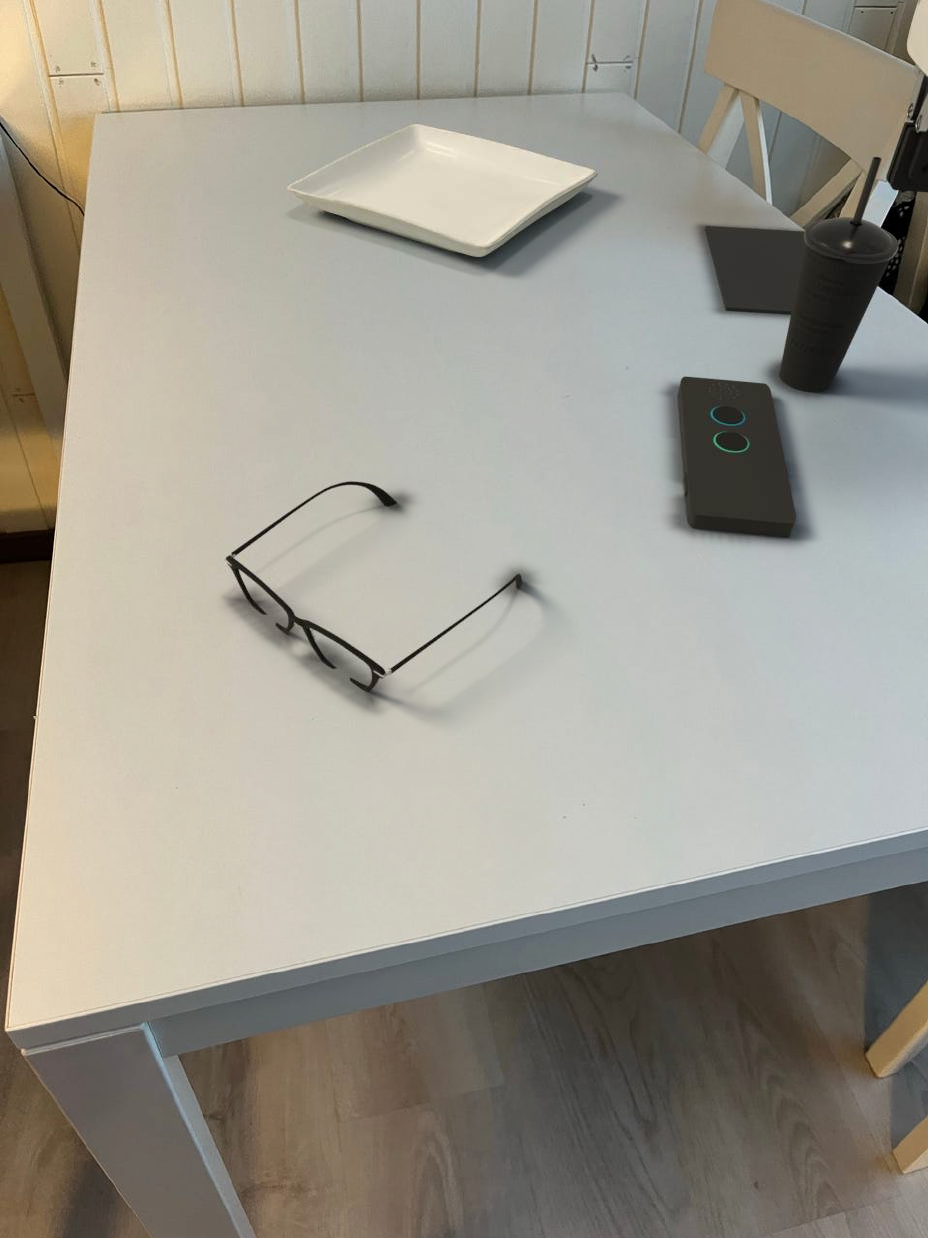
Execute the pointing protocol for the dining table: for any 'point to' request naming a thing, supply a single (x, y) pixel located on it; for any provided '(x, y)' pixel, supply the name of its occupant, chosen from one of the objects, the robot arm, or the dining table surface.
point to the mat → (756, 267)
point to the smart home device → (733, 458)
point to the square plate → (443, 188)
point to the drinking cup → (833, 292)
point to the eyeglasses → (306, 625)
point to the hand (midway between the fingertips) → (909, 186)
